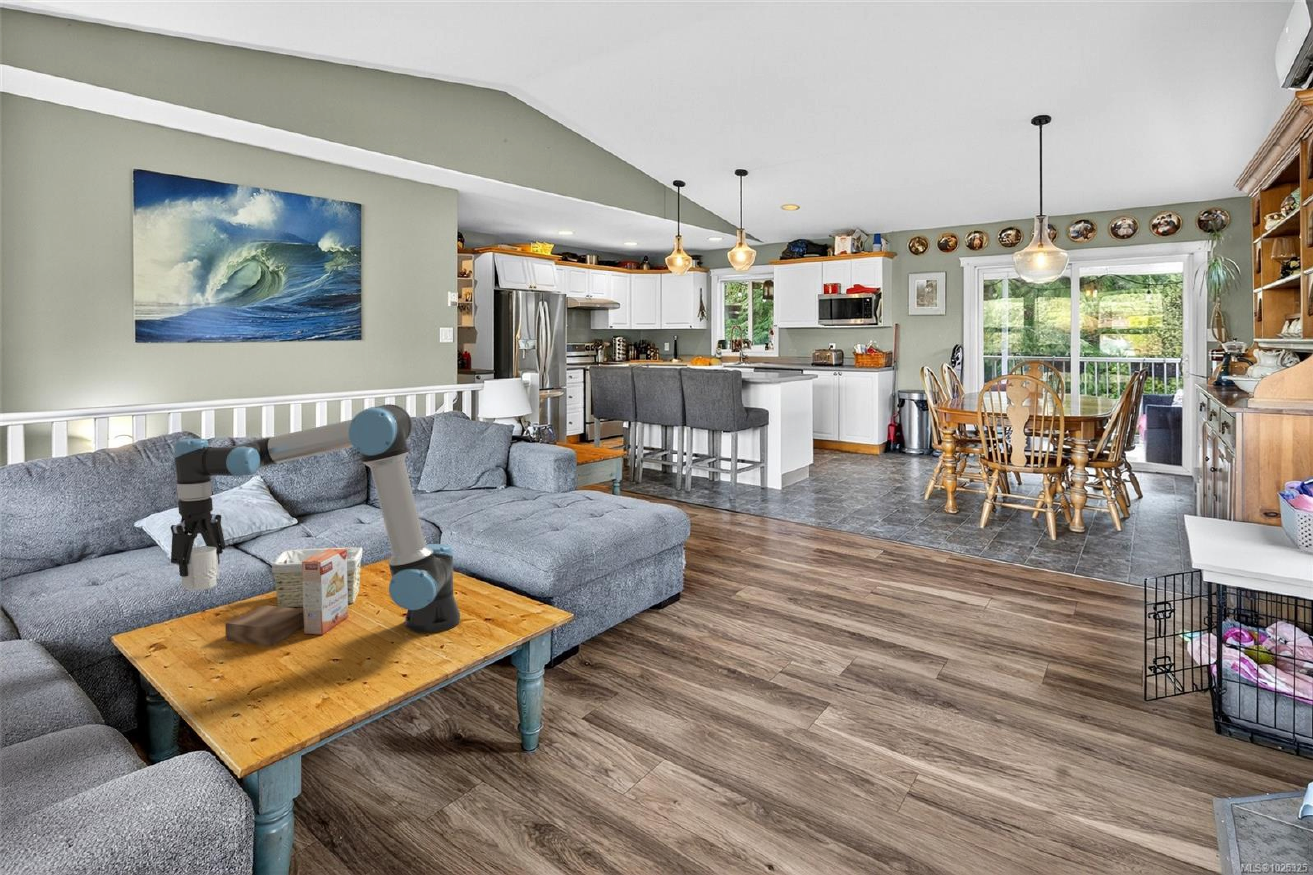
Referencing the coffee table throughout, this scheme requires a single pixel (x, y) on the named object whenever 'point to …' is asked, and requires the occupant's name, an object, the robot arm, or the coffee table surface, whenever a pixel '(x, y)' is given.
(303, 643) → the coffee table surface
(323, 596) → the cracker box
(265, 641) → the walnut block
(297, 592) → the storage basket
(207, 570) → the white cup
